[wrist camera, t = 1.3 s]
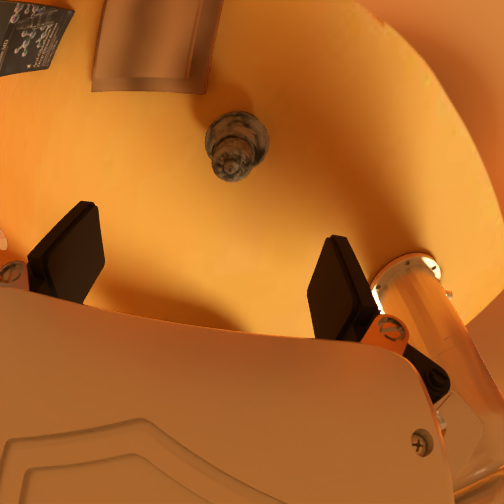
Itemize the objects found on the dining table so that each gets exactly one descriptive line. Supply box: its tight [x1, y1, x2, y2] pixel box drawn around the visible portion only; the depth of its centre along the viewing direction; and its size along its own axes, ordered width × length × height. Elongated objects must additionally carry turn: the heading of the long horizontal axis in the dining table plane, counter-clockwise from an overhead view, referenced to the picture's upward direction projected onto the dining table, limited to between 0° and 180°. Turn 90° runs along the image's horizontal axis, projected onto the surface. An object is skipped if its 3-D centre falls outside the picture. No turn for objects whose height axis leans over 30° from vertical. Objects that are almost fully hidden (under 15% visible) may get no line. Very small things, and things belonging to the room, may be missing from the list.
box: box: [0, 0, 75, 77], centre depth 14 cm, size 8×6×11 cm
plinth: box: [91, 0, 223, 95], centre depth 19 cm, size 12×12×4 cm
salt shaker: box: [205, 111, 269, 182], centre depth 23 cm, size 6×6×12 cm
